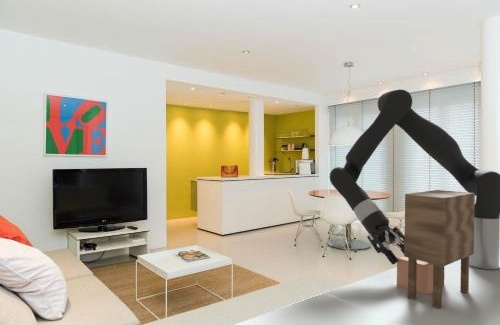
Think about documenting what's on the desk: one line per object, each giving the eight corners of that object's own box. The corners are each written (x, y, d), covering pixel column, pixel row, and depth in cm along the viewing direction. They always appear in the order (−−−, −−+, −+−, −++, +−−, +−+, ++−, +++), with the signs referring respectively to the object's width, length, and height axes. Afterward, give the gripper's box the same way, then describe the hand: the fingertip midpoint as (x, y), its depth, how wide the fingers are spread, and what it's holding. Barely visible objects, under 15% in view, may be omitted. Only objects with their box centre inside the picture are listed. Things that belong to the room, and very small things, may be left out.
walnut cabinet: (431, 280, 103) (433, 189, 102) (472, 293, 93) (474, 193, 93) (399, 295, 92) (400, 193, 91) (442, 310, 83) (444, 198, 82)
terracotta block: (404, 281, 102) (405, 255, 102) (435, 290, 95) (435, 262, 95) (396, 284, 100) (397, 257, 100) (427, 294, 93) (427, 266, 92)
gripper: (364, 211, 103) (399, 258, 94) (390, 207, 111) (424, 249, 102) (350, 225, 107) (381, 271, 98) (376, 220, 116) (407, 262, 107)
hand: (403, 260), depth 100 cm, fingers open, 8 cm apart
